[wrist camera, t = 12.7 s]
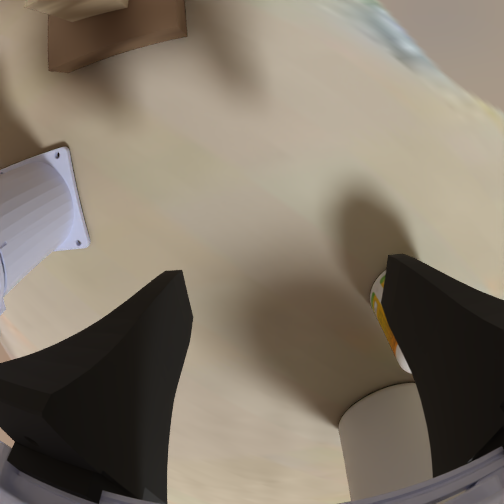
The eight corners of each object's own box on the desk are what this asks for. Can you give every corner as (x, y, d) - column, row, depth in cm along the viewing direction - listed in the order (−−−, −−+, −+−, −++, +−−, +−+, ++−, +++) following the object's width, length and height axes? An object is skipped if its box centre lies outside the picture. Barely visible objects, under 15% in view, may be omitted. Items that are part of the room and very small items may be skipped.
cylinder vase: (445, 374, 28) (512, 543, 6) (404, 429, 34) (440, 569, 11) (356, 383, 28) (401, 604, 5) (325, 438, 33) (344, 602, 11)
